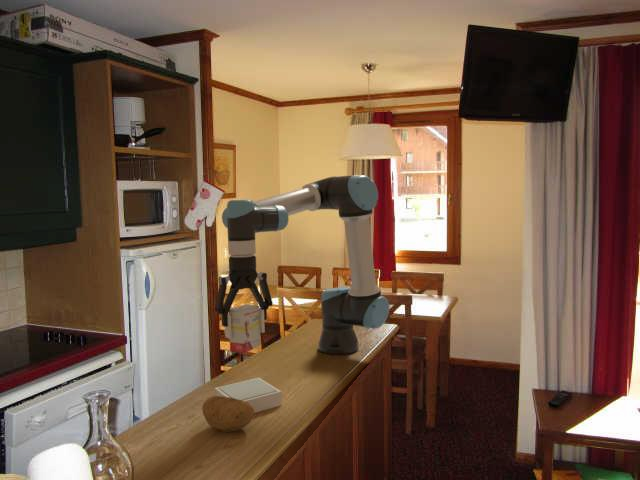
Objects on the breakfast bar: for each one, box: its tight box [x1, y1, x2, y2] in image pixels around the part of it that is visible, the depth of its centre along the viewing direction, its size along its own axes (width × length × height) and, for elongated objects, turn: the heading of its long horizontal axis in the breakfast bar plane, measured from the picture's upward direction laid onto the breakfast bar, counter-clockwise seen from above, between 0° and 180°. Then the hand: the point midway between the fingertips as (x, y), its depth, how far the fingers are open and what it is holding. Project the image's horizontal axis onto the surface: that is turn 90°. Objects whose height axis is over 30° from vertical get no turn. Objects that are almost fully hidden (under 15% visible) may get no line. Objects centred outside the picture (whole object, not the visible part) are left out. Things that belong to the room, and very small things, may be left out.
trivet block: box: [214, 377, 283, 414], centre depth 150 cm, size 14×14×4 cm
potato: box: [201, 395, 255, 433], centre depth 134 cm, size 10×14×8 cm
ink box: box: [228, 303, 262, 354], centre depth 148 cm, size 9×5×12 cm, turn 151°
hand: (245, 334), depth 148 cm, fingers closed on ink box, 9 cm apart
